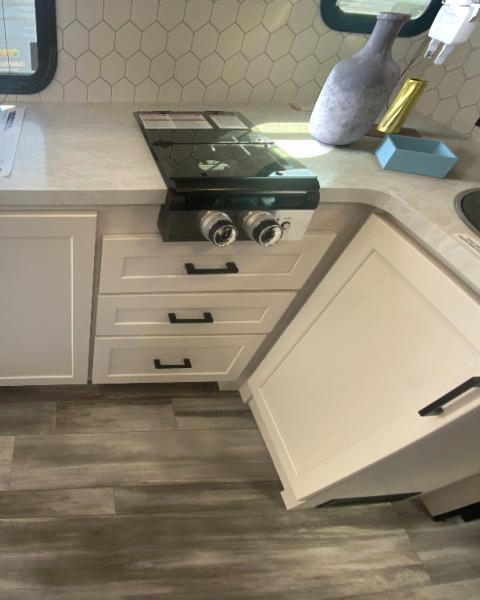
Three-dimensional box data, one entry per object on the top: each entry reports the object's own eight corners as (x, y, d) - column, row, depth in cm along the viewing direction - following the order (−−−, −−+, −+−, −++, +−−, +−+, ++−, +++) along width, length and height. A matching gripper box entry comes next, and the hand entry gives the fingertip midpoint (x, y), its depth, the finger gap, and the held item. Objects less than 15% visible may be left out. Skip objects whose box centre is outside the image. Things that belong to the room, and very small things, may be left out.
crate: (429, 159, 95) (442, 141, 92) (443, 178, 87) (459, 158, 83) (374, 151, 99) (385, 133, 95) (382, 168, 90) (395, 149, 87)
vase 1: (352, 136, 108) (420, 12, 87) (366, 155, 97) (448, 18, 76) (297, 130, 111) (350, 9, 90) (304, 147, 100) (367, 14, 79)
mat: (414, 130, 114) (414, 128, 113) (425, 144, 104) (426, 142, 104) (352, 121, 118) (353, 120, 118) (358, 134, 109) (358, 133, 109)
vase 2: (376, 126, 114) (406, 76, 104) (398, 130, 112) (431, 79, 102) (375, 131, 110) (406, 79, 101) (398, 135, 108) (431, 83, 98)
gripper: (503, -2, 80) (457, 68, 90) (471, -5, 94) (435, 56, 104) (469, -3, 82) (428, 66, 92) (443, -6, 96) (410, 54, 105)
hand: (432, 61), depth 98 cm, fingers open, 8 cm apart
